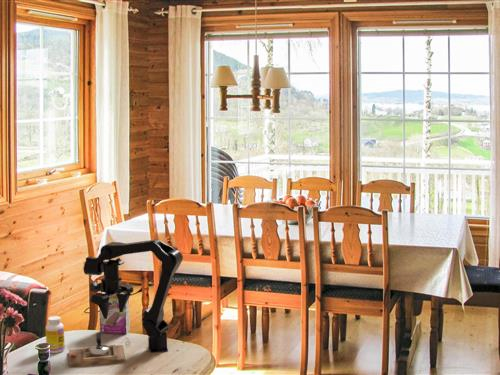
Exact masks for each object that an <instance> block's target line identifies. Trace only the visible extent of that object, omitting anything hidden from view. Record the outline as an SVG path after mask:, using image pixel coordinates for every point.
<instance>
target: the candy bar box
mask: <svg viewBox="0 0 500 375" xmlns="http://www.w3.org/2000/svg"><path fill="white" fill-rule="evenodd" d="M100 293H103V294H105V292H101V291H100ZM108 302H110V305H109V311H108V316H107V319H104V317H103V315H102V312H101V310H100V309H99V332H100V333H101V334H114V335H115V334H117V335H127V334H128V333H129V332H130V326H131V324H130V298H129V299H128V300H127V303H126V305H125V307H124V309H123V312H120V311H119V303H118V297H117V296H116V295H114V296H112V297H109V301H108ZM122 333H124V334H122Z"/></svg>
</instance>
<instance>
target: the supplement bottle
mask: <svg viewBox="0 0 500 375" xmlns="http://www.w3.org/2000/svg"><path fill="white" fill-rule="evenodd" d="M61 321H62V318H61V316H60V315H59V316H58V315H57V316H56V315H53V316H49V317H48V318H47V324H46V326H45V342H46V343H49V344H50V353H49V354H58V353H62V352H63V351H65V346H66V345H65V327H64V324H63V323H62V322H61Z"/></svg>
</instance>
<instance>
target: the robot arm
mask: <svg viewBox="0 0 500 375" xmlns="http://www.w3.org/2000/svg"><path fill="white" fill-rule="evenodd" d="M146 252H147V253H148V252H151V253H153V254H154V256H155V257H156V259H157V260H159V261H160V262H161V266H160V267H161V275H160V278H159V282H158V285H157V288H156V290H155V295H154V297H153V302H152V304H151V306H150V307H148V308H146V309H145V310H144V312H143V317H142V319H141V321H142V327H143V328H144V330H145V332H146V334H147V336H148V337H147V342H148V343H147V345H148V350H150V351H149V352H150V353H159V352H168V351H169V350H168V333H167V332H168V331H169V328H170V325H169V324H168V323H167V321H166V320H165V319H164V316H165V311H164V306H165V305H166V304H165V303H166V300H167V299H168V298H167V297H168V294H169V291H170V288H171V284H172V282H173V278H174V275H175V274H176V272H177V271H178V269H179V267H180V266H181V263H182V262H183V259H184V256H183V254H182V252H181V251H180V250H178V249H175V248H173V247H172V246H171V245H169V244H167V243H165V242H163V241H162V240H160V239H158V238H154V239H149V240H141V241H135V242H129V243H127V242H126V243H125V242H121V241H119V242H118V241H111V242H108V243H106V244H105V245H104V244H103V245H102V246H101V248H100V253H99V254H98V255H97V257H93V256H87V257H85V261H84V264H83V268H82V270H83V272H84V275H86V276H87V275H88V276H89V275H90V276H101V275H102V274H103V278H101V279H100V282H96V281H95V282H94V281H93V282H91V283H89V290H90V292H93V294H92V295H91V296H90V303H92V304H94V305H97V307H99V311H100V310H101V312H102V315H103V317H104V319H107V316H108V311H109V305H110V302H108V301H109V297H112V296H114V295H116V296H117V297H118V303H119V311H120V312H123V309H124V307H125V305H126V303H127V300H128V299H129V300H130V296H131V295H132V293H134V287H133V286H132V284H126V283H120V281H122V280H123V279H122V277H120V270H119V268H120V267H119V266H121V265H123V264H125V262H124V261H123V260H122V259H121V258H120V257H121V256H123V255H124V256H125V255H130V254H131V255H132V254H138V253H139V254H140V253H146ZM101 292H105V294H103V293H101Z"/></svg>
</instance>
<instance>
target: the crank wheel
mask: <svg viewBox="0 0 500 375" xmlns="http://www.w3.org/2000/svg"><path fill="white" fill-rule="evenodd" d="M95 338H96V340H95V341H96V342H95V343H96V344H95V345H92V346H89V347H90V356H91V357H102V356H108V355H109V345H107V344H102V333H100V331H99V332H96V333H95Z"/></svg>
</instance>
